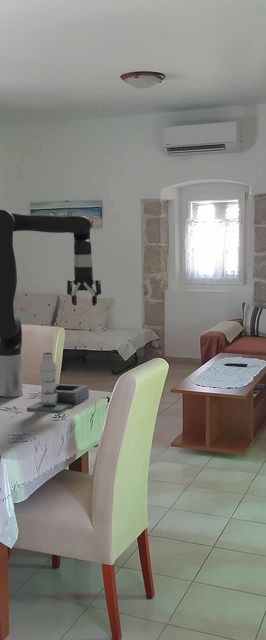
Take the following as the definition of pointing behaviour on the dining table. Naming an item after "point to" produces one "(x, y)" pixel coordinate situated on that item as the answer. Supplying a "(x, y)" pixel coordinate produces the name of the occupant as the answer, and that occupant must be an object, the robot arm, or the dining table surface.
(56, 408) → the grey-green rectangular panel
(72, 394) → the metal collar
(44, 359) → the silver metal bottle
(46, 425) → the dining table surface
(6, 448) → the dining table surface
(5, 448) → the dining table surface
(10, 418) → the dining table surface
